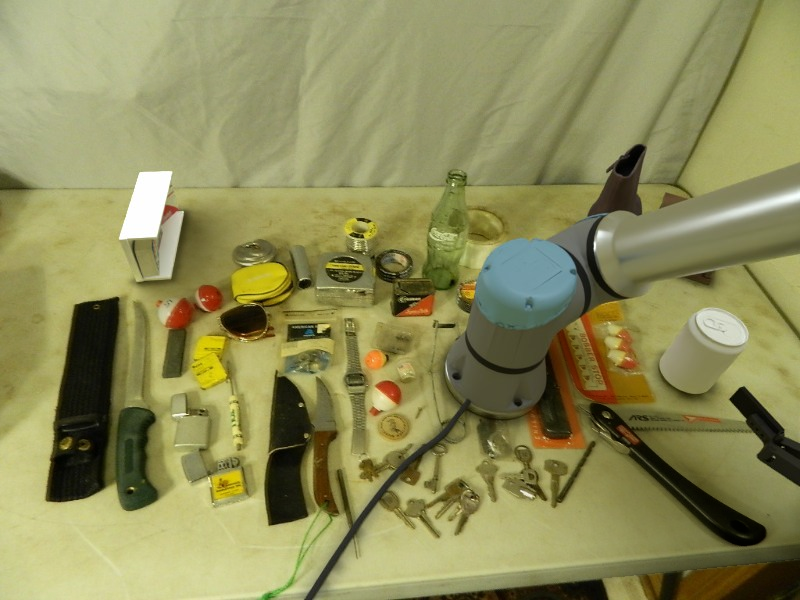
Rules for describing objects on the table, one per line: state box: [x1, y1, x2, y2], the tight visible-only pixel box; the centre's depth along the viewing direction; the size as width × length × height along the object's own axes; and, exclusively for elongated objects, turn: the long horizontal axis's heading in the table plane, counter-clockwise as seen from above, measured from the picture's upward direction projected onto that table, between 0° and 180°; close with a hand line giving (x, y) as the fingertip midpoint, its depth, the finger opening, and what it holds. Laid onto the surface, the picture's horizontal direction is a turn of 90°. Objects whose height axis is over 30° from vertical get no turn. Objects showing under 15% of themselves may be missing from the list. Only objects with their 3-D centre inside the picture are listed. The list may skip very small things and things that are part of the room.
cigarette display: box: [118, 171, 185, 283], centre depth 93 cm, size 20×6×9 cm, turn 9°
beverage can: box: [658, 307, 750, 395], centre depth 80 cm, size 8×8×12 cm
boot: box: [586, 143, 648, 217], centre depth 101 cm, size 9×24×20 cm, turn 143°
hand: (776, 379), depth 69 cm, fingers open, 13 cm apart
